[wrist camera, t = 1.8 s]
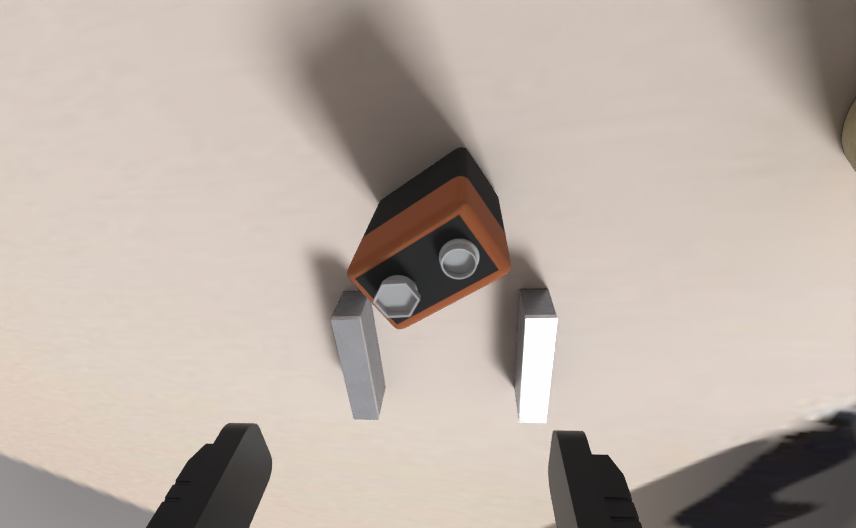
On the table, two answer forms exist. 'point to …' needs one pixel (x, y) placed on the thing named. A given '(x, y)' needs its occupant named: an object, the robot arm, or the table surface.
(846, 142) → the plant pot
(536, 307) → the housing
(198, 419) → the table surface
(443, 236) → the battery
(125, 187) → the table surface
